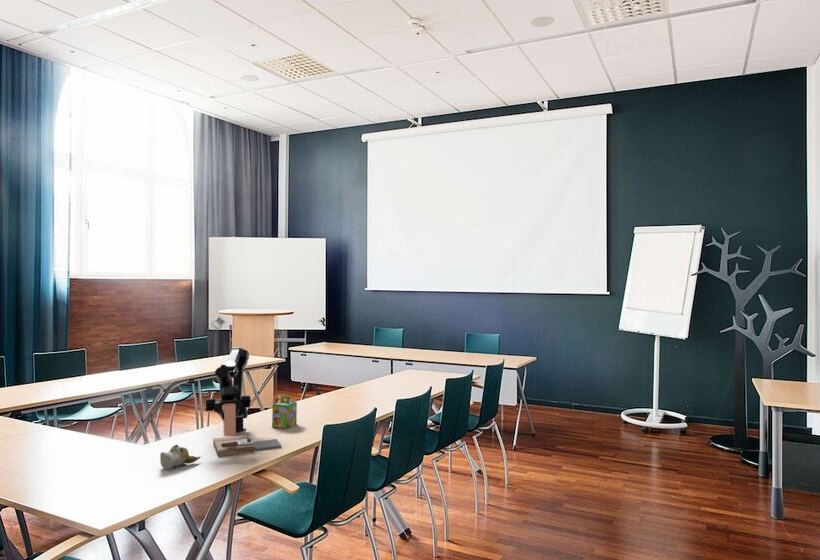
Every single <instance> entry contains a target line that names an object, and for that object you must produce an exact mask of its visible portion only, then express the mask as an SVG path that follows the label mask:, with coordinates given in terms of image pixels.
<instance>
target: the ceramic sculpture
mask: <svg viewBox="0 0 820 560" xmlns="http://www.w3.org/2000/svg"><path fill="white" fill-rule="evenodd" d="M159 456H160V457H159V458H160V459H159V461H160V462H159V463H160V465H161V467H162V469H164V470H166V469H168V470H172V469H173V467H179V465H181V466H184V465H185V464H192V463H195V462H196V461H198V460H199V459H201V456H195V455H190V453H189V450H188V448H186V447H184V446H179V445H178V444H174V445H173V446H172V447H171V448H170V449H169V451H167V452H166V451H165V452H164V451H163V452H160V455H159ZM183 464H184V465H183Z"/></svg>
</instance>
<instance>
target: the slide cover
mask: <svg viewBox="0 0 820 560" xmlns="http://www.w3.org/2000/svg"><path fill="white" fill-rule="evenodd" d="M252 440H253V439H252V438H251V437H249V438H247V439H241V440H236V442H237V444H238V446H242V445H250V444H253V442H254V441H252Z"/></svg>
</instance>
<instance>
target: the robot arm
mask: <svg viewBox="0 0 820 560" xmlns="http://www.w3.org/2000/svg"><path fill="white" fill-rule="evenodd" d="M249 359H250V352H249V351H248V350H246V349H244V348H243V347H239V346H238V347H231V348H230V350H229V355H228V358H227V360H226V362H224V363H222V364H220V366H219V367H217V368H216V370H215V371H214V374H215V377H216V380H217V383H218V384H219V393H220V394H219V395H220V400H219V399H218V400H217V399H216V398H207V399H205V405H204V409H205V412H213V411H214V413H217V414H218V415H219V417H220V418H221V420H222V421H224V413H223V404H227V403H235V410H236V433H239V432H240V433H241V432H244V431H247V428H244V419H248V411H247V409H248V408H249V407H250V406H251V402H252V399H251V396H250V395H243V383H244V382H243V381H244V372H245V371H244V370H245V368H246V366H247V365H248V361H249Z"/></svg>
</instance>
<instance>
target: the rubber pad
mask: <svg viewBox="0 0 820 560" xmlns="http://www.w3.org/2000/svg"><path fill="white" fill-rule="evenodd" d="M252 442H253V444H254V446H255V452H257V451H265V450H266V451H267V450H272V449H273V450H274V449H280V448H281V449H282V445H281V443H280V442H279V441H278V439H276V438H274V439H267V440H264V439H263V440H257V441H252Z"/></svg>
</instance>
